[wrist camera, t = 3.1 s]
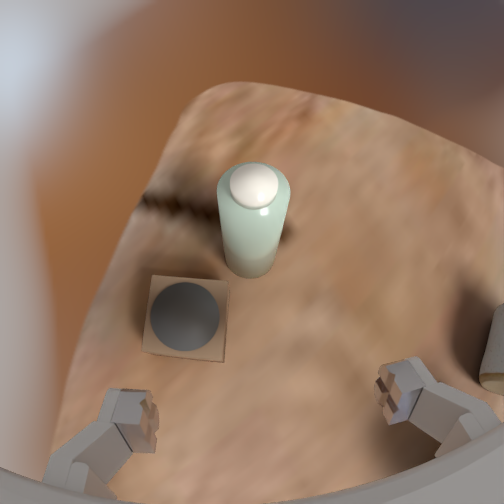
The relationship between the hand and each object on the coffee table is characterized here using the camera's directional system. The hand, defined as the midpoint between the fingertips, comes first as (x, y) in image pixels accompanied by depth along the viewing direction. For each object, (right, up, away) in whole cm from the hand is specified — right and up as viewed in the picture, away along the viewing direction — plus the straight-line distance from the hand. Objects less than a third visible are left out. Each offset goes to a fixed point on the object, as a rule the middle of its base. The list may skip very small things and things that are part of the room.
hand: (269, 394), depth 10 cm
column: (-1, +5, +18) cm, 18 cm away
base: (-6, -1, +15) cm, 16 cm away
